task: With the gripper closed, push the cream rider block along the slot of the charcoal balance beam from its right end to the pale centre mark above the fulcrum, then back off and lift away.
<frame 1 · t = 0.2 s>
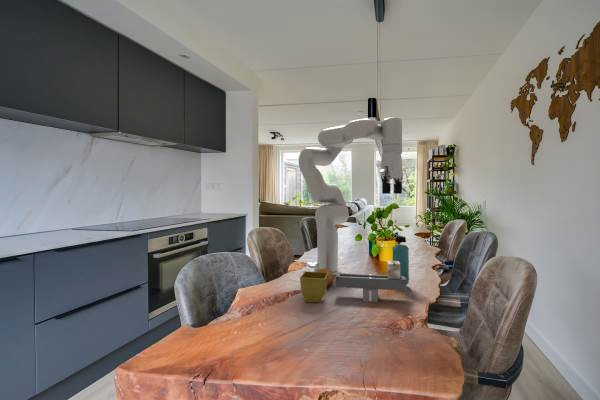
hand: (392, 193, 136), 37 cm above the table, tool pointing down, fingers open, 9 cm apart
beam: (370, 297, 123), on the table
rider: (393, 272, 121), point 9 cm above the table, slide at 8.0 cm
flower pot: (314, 301, 120), on the table
fruit: (323, 287, 137), on the table
beverage bottle: (400, 287, 138), on the table
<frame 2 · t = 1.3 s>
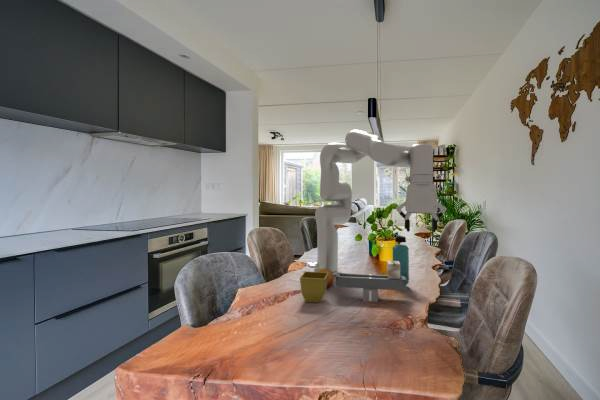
hand: (420, 231, 119), 24 cm above the table, tool pointing down, fingers open, 7 cm apart
nothing on the table moved.
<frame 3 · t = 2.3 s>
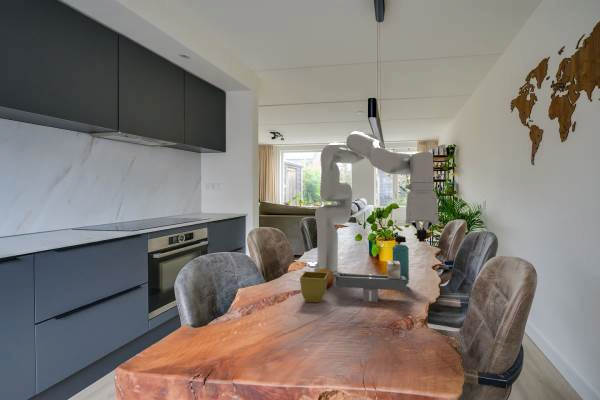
hand: (421, 241, 119), 21 cm above the table, tool pointing down, fingers closed
nothing on the table moved.
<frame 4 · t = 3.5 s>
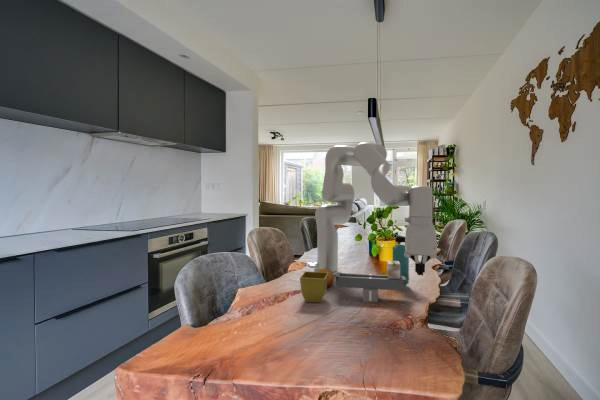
hand: (419, 274, 120), 9 cm above the table, tool pointing down, fingers closed
nothing on the table moved.
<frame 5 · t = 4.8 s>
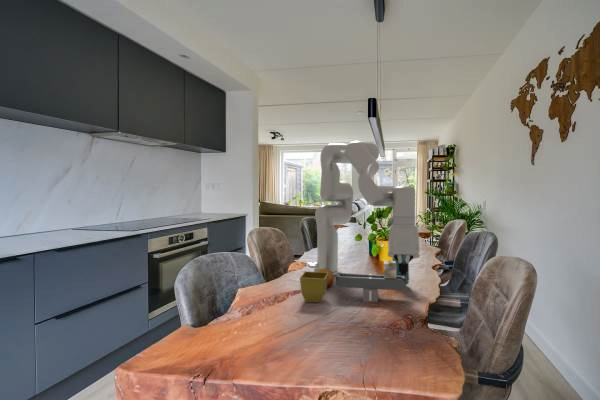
hand: (403, 273, 121), 9 cm above the table, tool pointing down, fingers closed
rider: (389, 272, 122), point 9 cm above the table, slide at 6.7 cm, touching gripper
everything else where it was.
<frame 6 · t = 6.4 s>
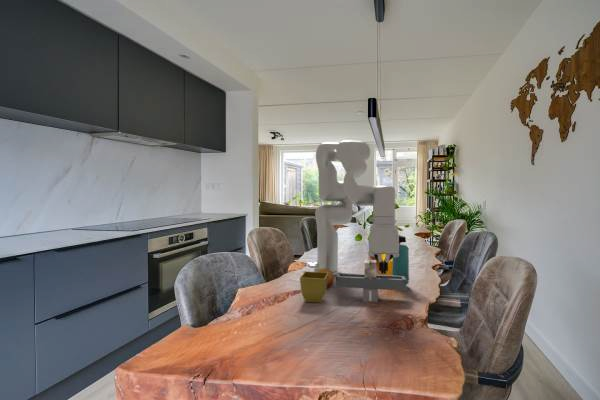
hand: (383, 272, 122), 9 cm above the table, tool pointing down, fingers closed
rider: (370, 271, 123), point 9 cm above the table, slide at 0.0 cm, touching gripper
everything else where it was.
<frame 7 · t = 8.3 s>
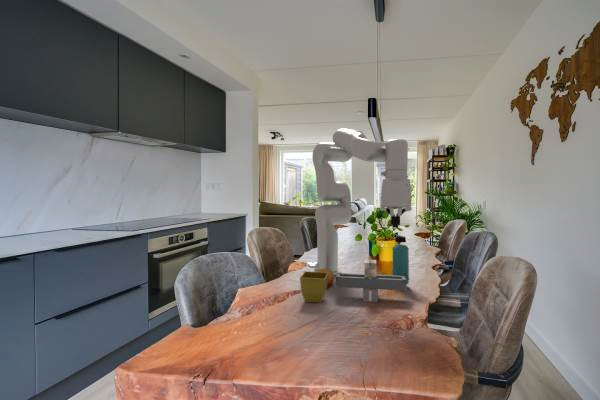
hand: (395, 227, 122), 25 cm above the table, tool pointing down, fingers closed
rider: (370, 271, 123), point 9 cm above the table, slide at 0.0 cm
everything else where it was.
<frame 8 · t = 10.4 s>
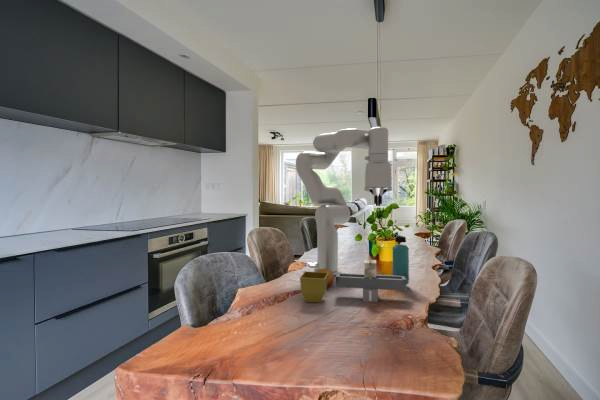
hand: (377, 205, 136), 32 cm above the table, tool pointing down, fingers closed
nothing on the table moved.
at the end: rider slide at 0.0 cm; the gripper is holding nothing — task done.
